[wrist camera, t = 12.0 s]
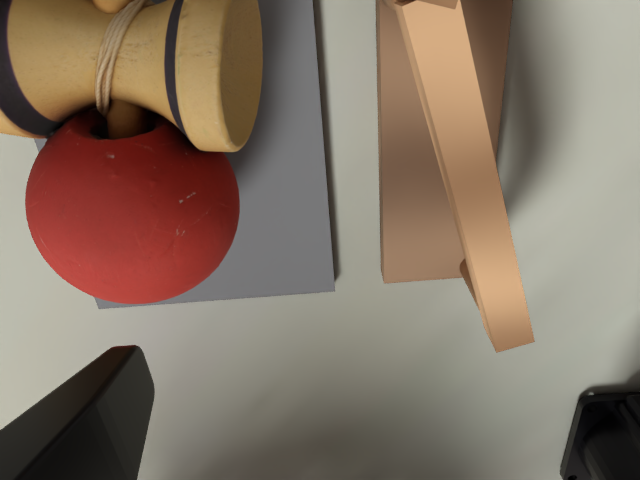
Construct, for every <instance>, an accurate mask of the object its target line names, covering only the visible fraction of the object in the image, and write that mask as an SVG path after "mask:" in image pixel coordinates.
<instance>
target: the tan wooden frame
mask: <svg viewBox="0 0 640 480" xmlns="http://www.w3.org/2000/svg"><path fill="white" fill-rule="evenodd" d="M512 4H513V0H376V41H377V92H378V143H379V194H380V245H381V272H382V276H383V281H384V283H396V282H409V281H422V280H436V279H449V278H462V277H463V278H464V280H465V282H466V284H467V286H468V288H469V290H470V292H471V294H472V296H473V298H474V300H475V302H476V304H477V306H478V308H479V310H480V313H481V317H482V321H483V324H484V328H485V330H486V332H487V334H488V336H489V338H490V340H491V342H492V344H493V346H494V348H495V350H496V353H497V352H500V351H504V350H507V349H511V348H514V347H518V346H521V345H525V344H528V343H532V342H535V341H534V337H533V332H532V327H531V323H530V318H529V314H528V309H527V305H526V300H525V295H524V291H523V286H522V282H521V277H520V272H519V268H518V263H517V259H516V254H515V250H514V245H513V240H512V236H511V231H510V227H509V222H508V217H507V213H506V208H505V204H504V199H503V194H502V190H501V185H500V181H499V176H498V172H497V167H496V155H497V145H498V136H499V127H500V117H501V108H502V98H503V89H504V80H505V70H506V61H507V51H508V42H509V32H510V23H511V14H512Z"/></svg>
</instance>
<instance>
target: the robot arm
mask: <svg viewBox="0 0 640 480" xmlns="http://www.w3.org/2000/svg"><path fill="white" fill-rule="evenodd" d="M154 394H155V390H154V383H153V380H152V377H151V374H150V371H149V368H148V365H147V362H146V359H145V356H144V353H143V351H142V349H141V348H140V347H139V346H136V345H129V346H116V347H112V348H110V349H109V350H107V351H106V352H104V353H103V354H102V355H100V356H99V357H98V358H96V359H95V360H94V361H92V362H91V363H90V364H88V365H87V366H86V367H84V368H83V369H82V370H80V371H79V372H78V373H76V374H75V375H74V376H72V377H71V378H70V379H68V380H67V381H66V382H64V383H63V384H62V385H60V386H59V387H58V388H56V389H55V390H53V391H52V392H51V393H49V394H48V395H47V396H45V397H44V398H43V399H41V400H40V401H39V402H37V403H36V404H35V405H33V406H32V407H31V408H29V409H28V410H27V411H25V412H24V413H23V414H21V415H20V416H19V417H17V418H16V419H15V420H13V421H12V422H11V423H9V424H8V425H7V426H5V427H4V428H3V429H1V430H0V480H137V477H138V472H139V468H140V463H141V458H142V453H143V449H144V444H145V439H146V434H147V430H148V425H149V420H150V416H151V411H152V406H153V401H154ZM560 475H561V477H562V479H563V480H640V392H631V393H616V394H602V395H589V396H585V397H583V398H582V399H581V400H580V401H579V402H578V406H577V409H576V413H575V417H574V421H573V425H572V428H571V432H570V436H569V440H568V444H567V447H566V451H565V455H564V459H563V463H562V466H561V470H560Z"/></svg>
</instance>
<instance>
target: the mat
mask: <svg viewBox="0 0 640 480" xmlns="http://www.w3.org/2000/svg"><path fill="white" fill-rule="evenodd" d="M151 1H152V2H154V3H155V4H156V5H157V4H159V3H162V2H165V1H167V0H151ZM257 1H258V5H259V6H258V7H259V11H260V18H261V27H262V42H263V46H262V51H263V68H262V84H261V92H260V100H259V105H258V110H257V116H256V119H255V122H254V126H253V129H252V132H251V134H250V136H249V138H248V140H247V142H246V143H245V145H244V146H243V147H242V148H241V149H240V150H238V151H236V152H224V154H225V155H226V157H227V159H228V160H229V162H230V164H231V167H232V169H233V172H234V174H235V177H236V180H237V184H238V188H239V198H240V214H239V221H238V227H237V231H236V234H235V237H234V240H233V243H232V245H231V247H230V249H229V251H228V252H227V254H226V256H225V257H224V259H223V261H222V262H221V263H220V265H219V267H217V269H216V270H215V271H214V272H213V273H212V274H211V275H210V276H209V277H207V278H206V279H205V280H204V281H202V282H201V283H200V284H198V285H197V286H195V287H194V288H192V289H190V290H189V291H187V292H185V293H183V294H180V295H178V296H176V297H173V298H170V299H167V300H163V301H159V302H154V303H147V304H122V303H115V302H111V301H106V300H102V299H99V298H96V297H94V298H95V300H96V303H97V305H98V308H99V309H106V308H119V307H132V306H146V305H159V304H173V303H186V302H199V301H213V300H226V299H239V298H253V297H266V296H280V295H293V294H306V293H320V292H333V291H335V283H334V270H333V258H332V245H331V232H330V219H329V206H328V193H327V180H326V167H325V154H324V142H323V129H322V116H321V103H320V90H319V77H318V64H317V51H316V38H315V26H314V13H313V0H257ZM34 140H35V143H36V146H37V148H38V151H39V152H40V150H41V149H42V148H43V146H44V145H45V142H46V141H47V139H34Z"/></svg>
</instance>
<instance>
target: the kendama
mask: <svg viewBox="0 0 640 480" xmlns="http://www.w3.org/2000/svg"><path fill="white" fill-rule="evenodd" d="M258 6H259V5H258V1H257V0H167V1H165V2H162V3H159V4H157V5H156V4H155V3H154V2H152V1H151V0H0V133H4V134H9V135H16V136H22V137H28V138H34V139H47V141H46V142H45V145H44V146H43V148H42V149H41V150H40V152H39V154H38V156H37V158H36V159H35V162H34V164H33V167H32V169H31V172H30V175H29V178H28V182H27V187H26V198H25V206H26V216H27V221H28V226H29V229H30V232H31V235H32V237H33V240H34V242H35V244H36V246H37V248H38V250H39V251H40V253H41V255H42V256H43V258H44V259H45V260H46V262H47V263H48V264H49V265H50V266H51V267H52V268H53V269H54V271H55V272H56V273H57V274H59V276H61V277H62V278H63V279H64V280H66V281H67V282H68V283H70V284H71V285H73V286H74V287H76V288H78V289H79V290H81V291H83V292H85V293H87V294H89V295H92V296H94V297H96V298H99V299H102V300H106V301H111V302H115V303H122V304H147V303H154V302H159V301H163V300H167V299H170V298H173V297H176V296H178V295H180V294H183V293H185V292H187V291H189V290H190V289H192V288H194V287H195V286H197V285H198V284H200V283H201V282H202V281H204V280H205V279H206V278H207V277H209V276H210V275H211V274H212V273H213V272H214V271H215V270H216V269H217V267H219V265H220V263H221V262H222V261H223V259H224V257H225V256H226V254H227V252H228V251H229V249H230V247H231V245H232V243H233V240H234V237H235V234H236V231H237V227H238V221H239V214H240V198H239V188H238V184H237V180H236V177H235V174H234V172H233V169H232V167H231V164H230V162H229V160H228V159H227V157H226V155H225V154H224V152H236V151H238V150H240V149H241V148H242V147H243V146H244V145H245V143H246V142H247V140H248V138H249V136H250V134H251V132H252V129H253V126H254V122H255V119H256V116H257V110H258V105H259V100H260V92H261V84H262V68H263V51H262V46H263V42H262V27H261V18H260V11H259V7H258Z"/></svg>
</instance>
